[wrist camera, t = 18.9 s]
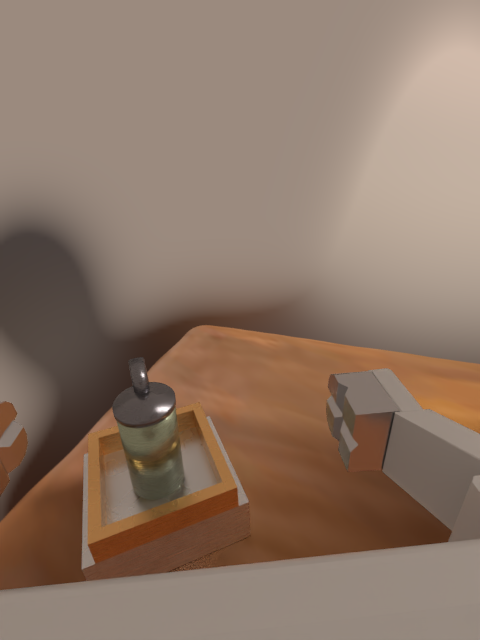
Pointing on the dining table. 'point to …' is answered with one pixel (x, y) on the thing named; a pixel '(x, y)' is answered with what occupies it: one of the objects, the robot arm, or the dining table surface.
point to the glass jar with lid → (149, 434)
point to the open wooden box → (159, 505)
